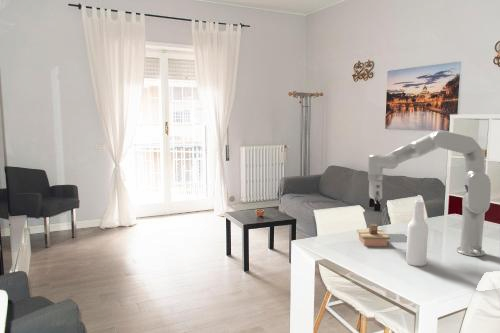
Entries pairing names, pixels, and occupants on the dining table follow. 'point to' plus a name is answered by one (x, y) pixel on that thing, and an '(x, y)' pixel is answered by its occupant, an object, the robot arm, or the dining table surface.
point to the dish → (373, 242)
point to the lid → (373, 233)
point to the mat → (397, 238)
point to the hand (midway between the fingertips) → (374, 209)
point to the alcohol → (417, 237)
